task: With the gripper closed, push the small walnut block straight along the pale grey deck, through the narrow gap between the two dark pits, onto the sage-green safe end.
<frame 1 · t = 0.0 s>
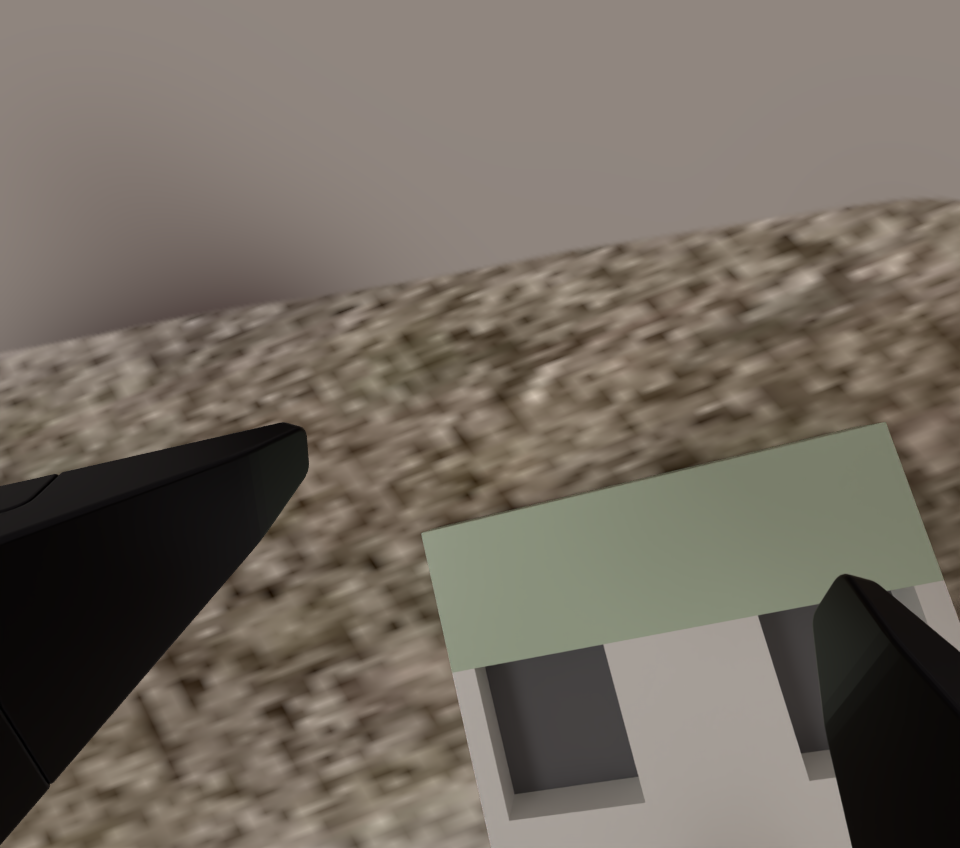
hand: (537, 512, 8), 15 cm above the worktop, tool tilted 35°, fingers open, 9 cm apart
trap deck: (697, 711, 21), on the worktop
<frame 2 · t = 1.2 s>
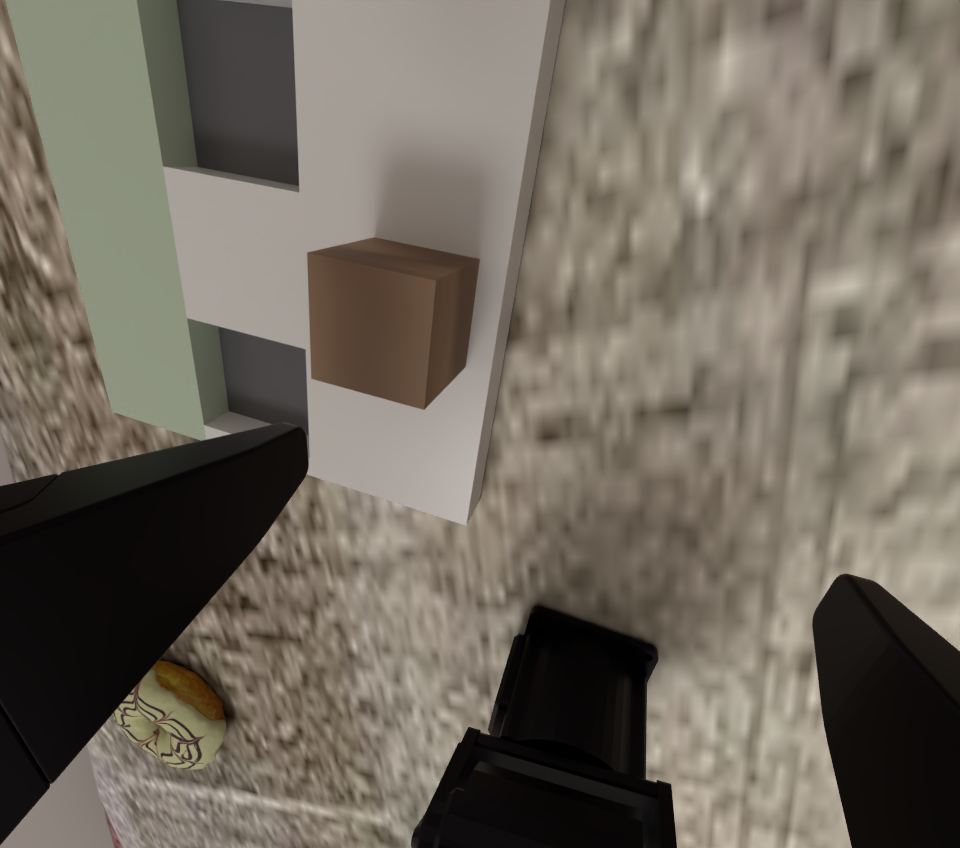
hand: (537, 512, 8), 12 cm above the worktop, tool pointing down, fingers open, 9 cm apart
decorated donut: (189, 692, 44), on the worktop
trap deck: (290, 259, 21), on the worktop
walnut block: (421, 304, 18), point 2 cm above the worktop, touching trap deck
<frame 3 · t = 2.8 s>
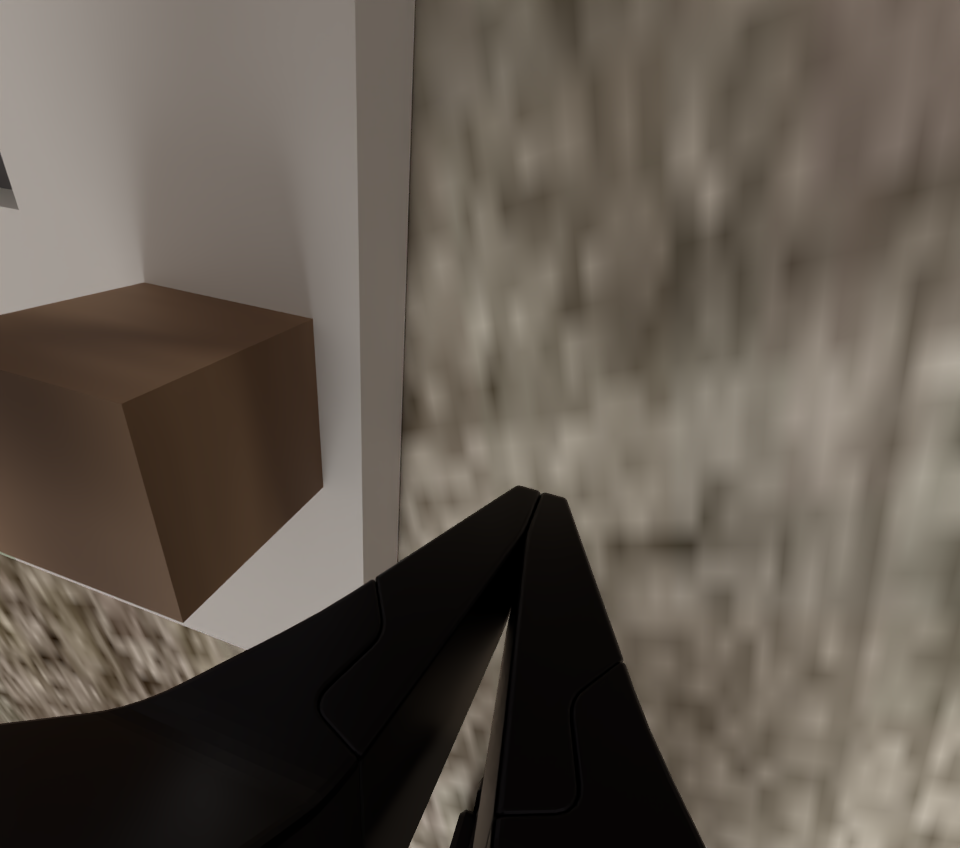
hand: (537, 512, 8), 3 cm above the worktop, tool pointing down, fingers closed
trap deck: (80, 308, 14), on the worktop
walnut block: (238, 390, 11), point 2 cm above the worktop, touching trap deck
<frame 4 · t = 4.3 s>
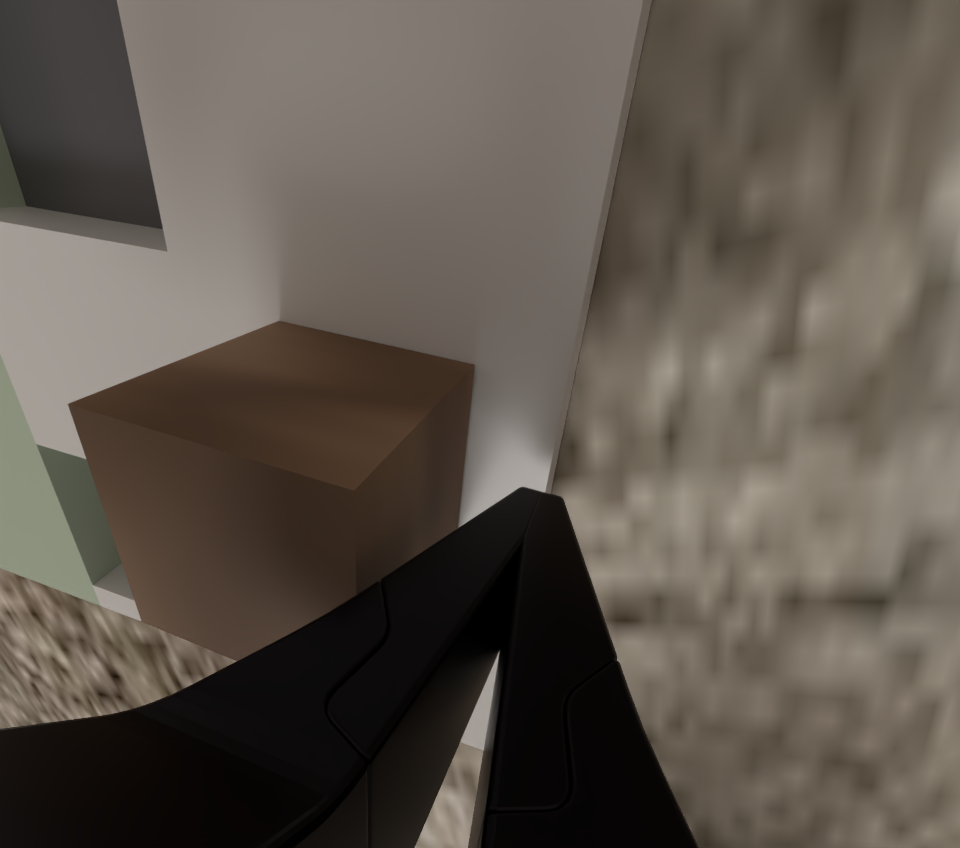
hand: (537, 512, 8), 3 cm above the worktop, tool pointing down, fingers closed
trap deck: (192, 347, 13), on the worktop
walnut block: (372, 435, 10), point 2 cm above the worktop, touching gripper
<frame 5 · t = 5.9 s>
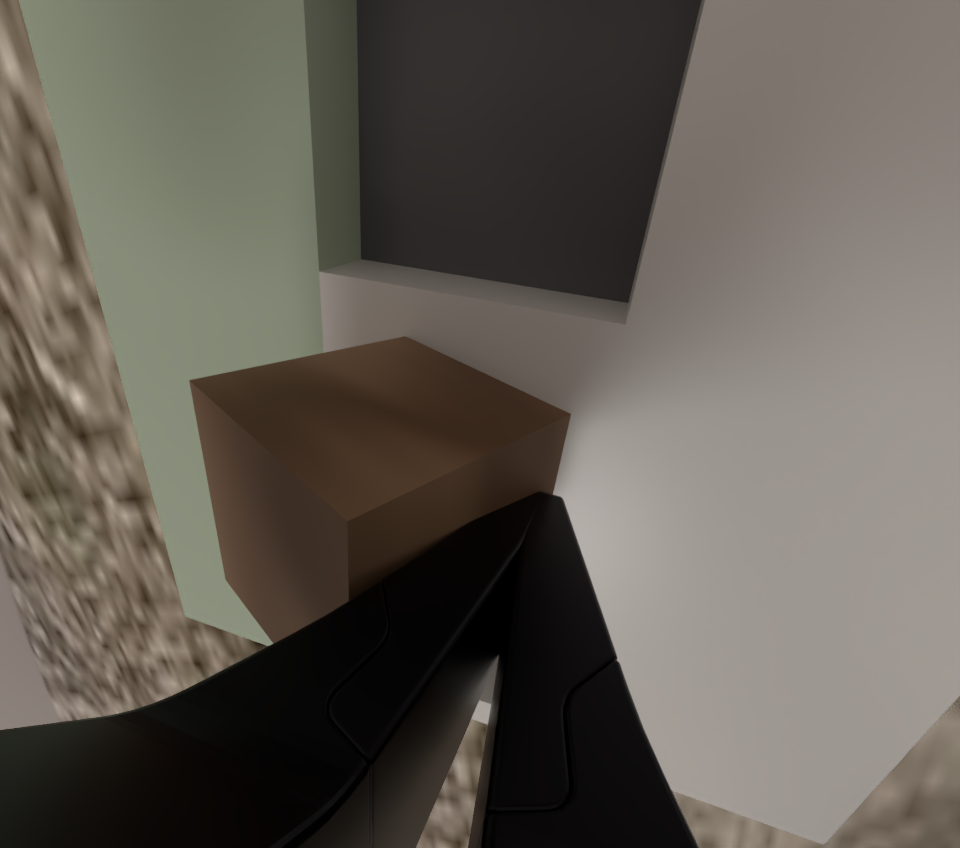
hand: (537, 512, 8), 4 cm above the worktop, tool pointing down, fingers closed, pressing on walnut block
trap deck: (516, 407, 12), on the worktop
walnut block: (466, 464, 10), point 3 cm above the worktop, tilted 27°, touching gripper
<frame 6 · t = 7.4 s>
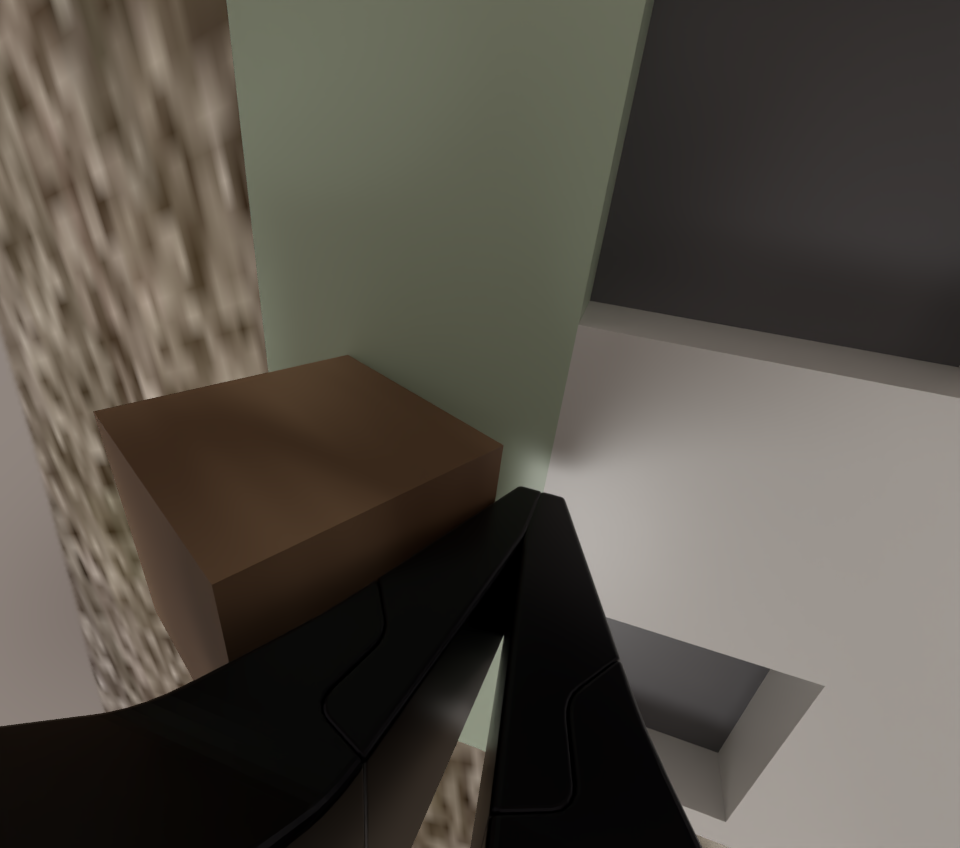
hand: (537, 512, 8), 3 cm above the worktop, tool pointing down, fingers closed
trap deck: (754, 476, 10), on the worktop
walnut block: (410, 489, 9), point 3 cm above the worktop, tilted 27°, touching gripper, trap deck
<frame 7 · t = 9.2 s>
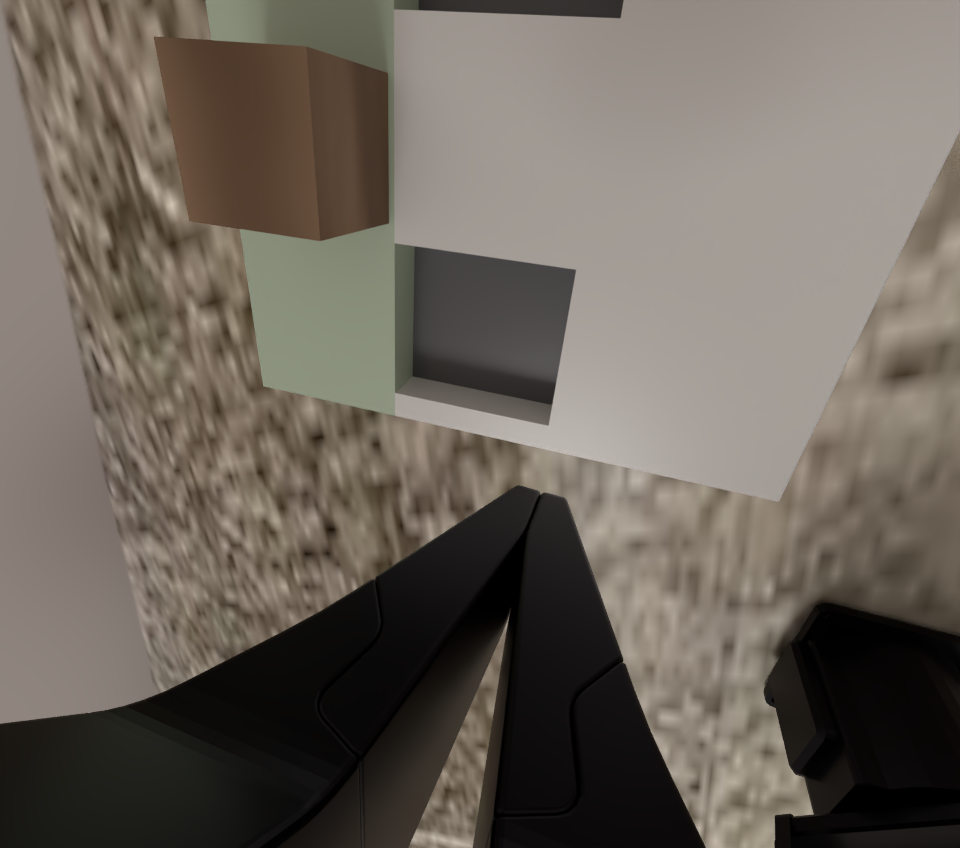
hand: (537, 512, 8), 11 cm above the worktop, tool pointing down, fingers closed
trap deck: (537, 151, 16), on the worktop
walnut block: (329, 146, 15), point 2 cm above the worktop, touching trap deck
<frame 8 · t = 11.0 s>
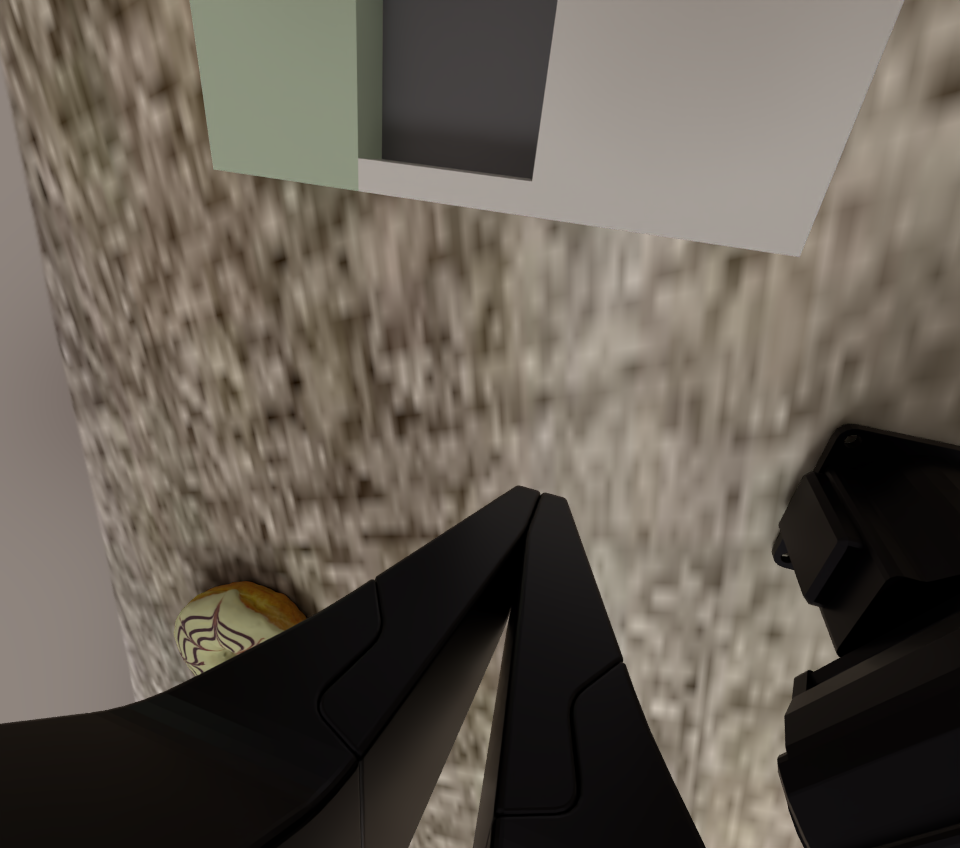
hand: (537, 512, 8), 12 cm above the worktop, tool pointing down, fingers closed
decorated donut: (271, 626, 35), on the worktop
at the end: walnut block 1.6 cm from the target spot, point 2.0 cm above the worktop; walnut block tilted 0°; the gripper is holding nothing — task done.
